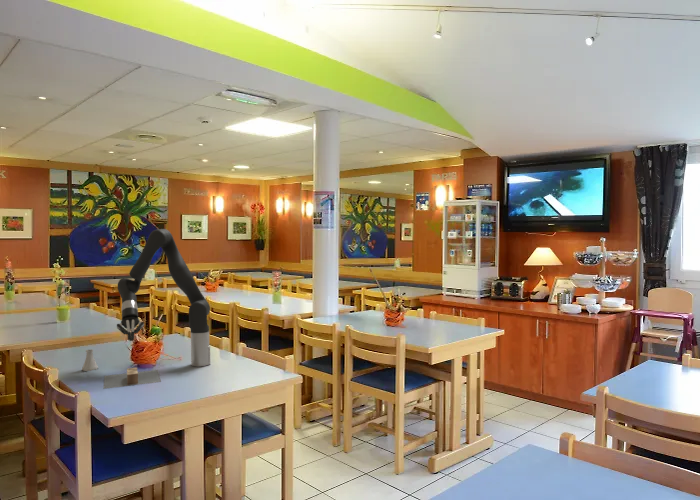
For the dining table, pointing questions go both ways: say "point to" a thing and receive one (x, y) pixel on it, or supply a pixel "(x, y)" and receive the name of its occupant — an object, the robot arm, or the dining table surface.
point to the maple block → (132, 376)
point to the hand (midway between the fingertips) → (131, 340)
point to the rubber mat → (121, 379)
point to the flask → (89, 362)
